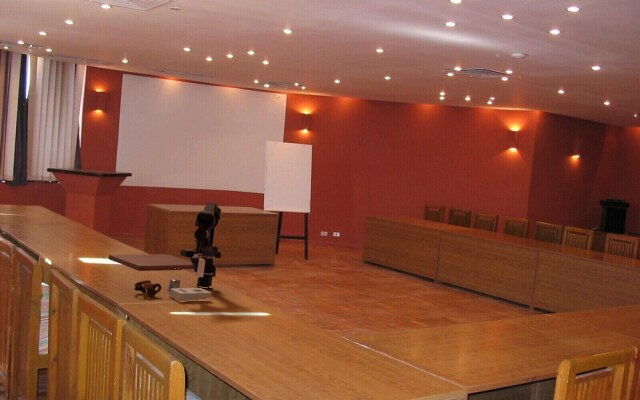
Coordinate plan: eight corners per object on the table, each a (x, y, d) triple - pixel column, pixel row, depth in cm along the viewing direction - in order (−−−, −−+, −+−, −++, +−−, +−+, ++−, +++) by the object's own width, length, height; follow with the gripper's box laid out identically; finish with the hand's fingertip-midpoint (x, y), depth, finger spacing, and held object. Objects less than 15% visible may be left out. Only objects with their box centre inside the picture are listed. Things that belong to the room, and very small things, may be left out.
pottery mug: (137, 299, 310) (133, 281, 312) (135, 304, 318) (131, 287, 320) (164, 293, 314) (160, 276, 317) (162, 298, 323) (158, 281, 325)
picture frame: (108, 259, 399) (138, 271, 376) (108, 254, 399) (139, 265, 376) (167, 259, 428) (199, 269, 405) (168, 254, 428) (200, 264, 405)
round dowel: (175, 291, 335) (177, 278, 335) (180, 293, 331) (182, 281, 331) (166, 291, 332) (167, 279, 332) (171, 293, 328) (172, 281, 328)
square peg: (199, 275, 326) (201, 258, 326) (203, 277, 324) (205, 260, 324) (193, 275, 324) (195, 258, 324) (197, 277, 322) (199, 259, 322)
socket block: (199, 296, 331) (200, 288, 330) (210, 301, 323) (211, 292, 323) (169, 297, 320) (170, 288, 320) (179, 302, 313) (180, 293, 313)
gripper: (193, 240, 311) (189, 275, 312) (229, 242, 323) (225, 275, 324) (181, 237, 320) (177, 270, 320) (217, 238, 332) (212, 271, 332)
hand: (198, 272), depth 324 cm, fingers closed on square peg, 3 cm apart
